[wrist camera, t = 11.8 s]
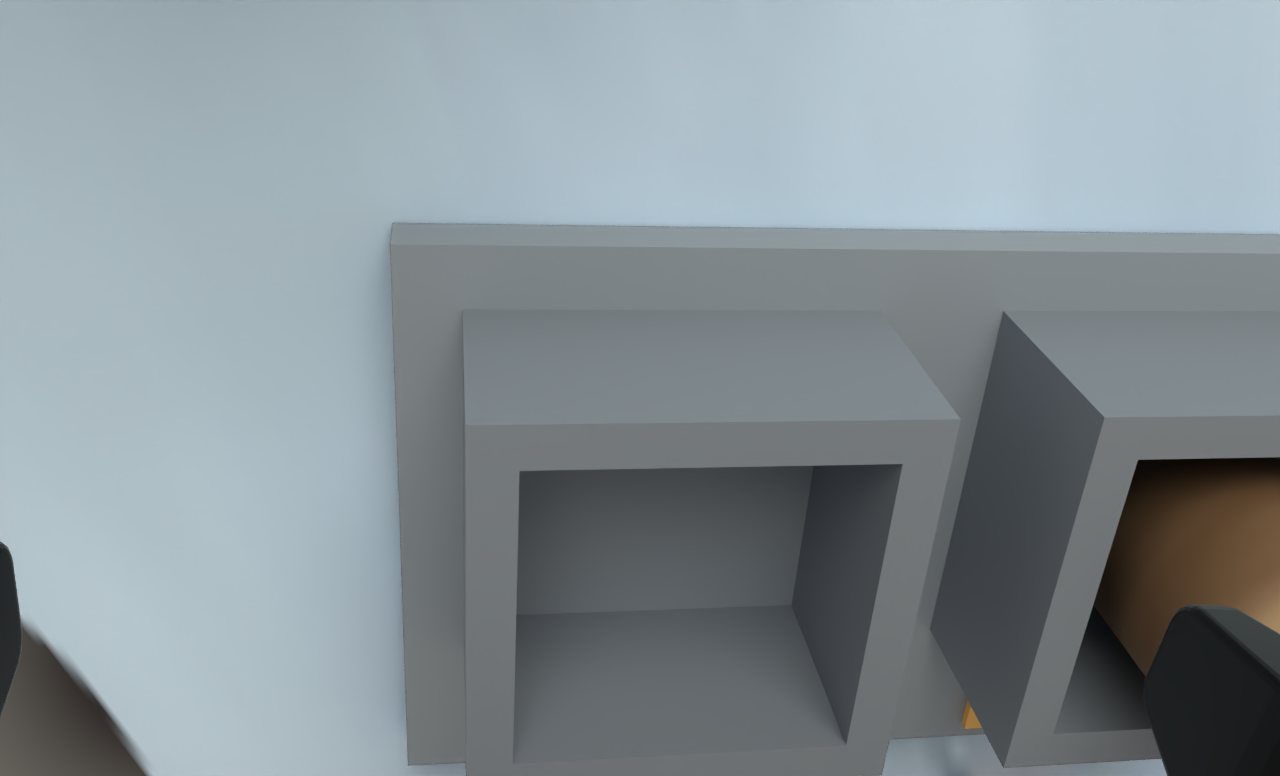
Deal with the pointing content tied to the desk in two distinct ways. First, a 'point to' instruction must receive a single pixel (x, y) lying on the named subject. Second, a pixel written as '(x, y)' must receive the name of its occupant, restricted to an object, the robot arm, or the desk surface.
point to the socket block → (794, 484)
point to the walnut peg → (1192, 547)
